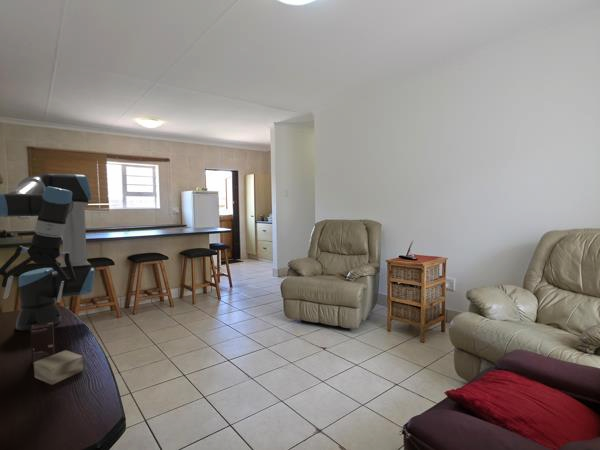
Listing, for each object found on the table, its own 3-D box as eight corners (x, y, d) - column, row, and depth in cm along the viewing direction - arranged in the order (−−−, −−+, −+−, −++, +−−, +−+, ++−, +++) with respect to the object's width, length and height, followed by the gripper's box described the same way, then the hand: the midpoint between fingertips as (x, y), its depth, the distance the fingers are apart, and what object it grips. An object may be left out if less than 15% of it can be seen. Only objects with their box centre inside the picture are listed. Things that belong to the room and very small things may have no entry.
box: (31, 365, 108) (29, 329, 107) (33, 359, 112) (31, 324, 111) (54, 360, 112) (52, 325, 111) (55, 354, 116) (53, 321, 114)
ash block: (66, 364, 109) (65, 350, 109) (83, 371, 105) (82, 355, 105) (34, 378, 101) (33, 362, 101) (51, 385, 97) (50, 369, 97)
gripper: (-6, 228, 99) (-23, 299, 98) (92, 242, 111) (77, 306, 110) (2, 226, 105) (-15, 292, 104) (93, 240, 117) (79, 299, 117)
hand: (32, 299), depth 107 cm, fingers open, 13 cm apart
